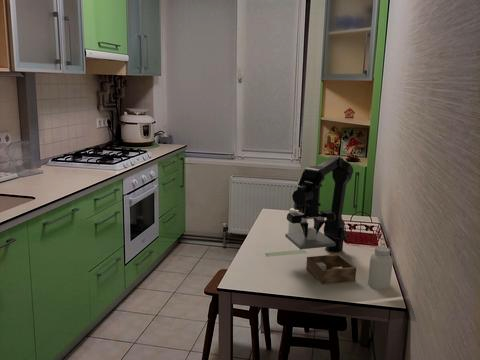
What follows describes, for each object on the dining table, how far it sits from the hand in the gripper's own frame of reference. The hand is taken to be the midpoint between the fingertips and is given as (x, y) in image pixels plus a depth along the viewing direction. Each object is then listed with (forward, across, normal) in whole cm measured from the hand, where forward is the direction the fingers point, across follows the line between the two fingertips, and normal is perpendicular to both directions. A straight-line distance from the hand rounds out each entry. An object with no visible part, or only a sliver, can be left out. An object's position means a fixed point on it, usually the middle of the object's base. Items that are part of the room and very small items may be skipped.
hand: (309, 237), depth 187 cm
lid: (+2, 0, 0) cm, 2 cm away
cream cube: (+12, -1, +8) cm, 14 cm away
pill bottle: (+13, -18, +23) cm, 32 cm away
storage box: (+13, -4, +11) cm, 17 cm away
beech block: (+12, -6, +13) cm, 19 cm away
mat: (+13, +3, -8) cm, 16 cm away
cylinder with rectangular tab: (+13, -12, -39) cm, 43 cm away
